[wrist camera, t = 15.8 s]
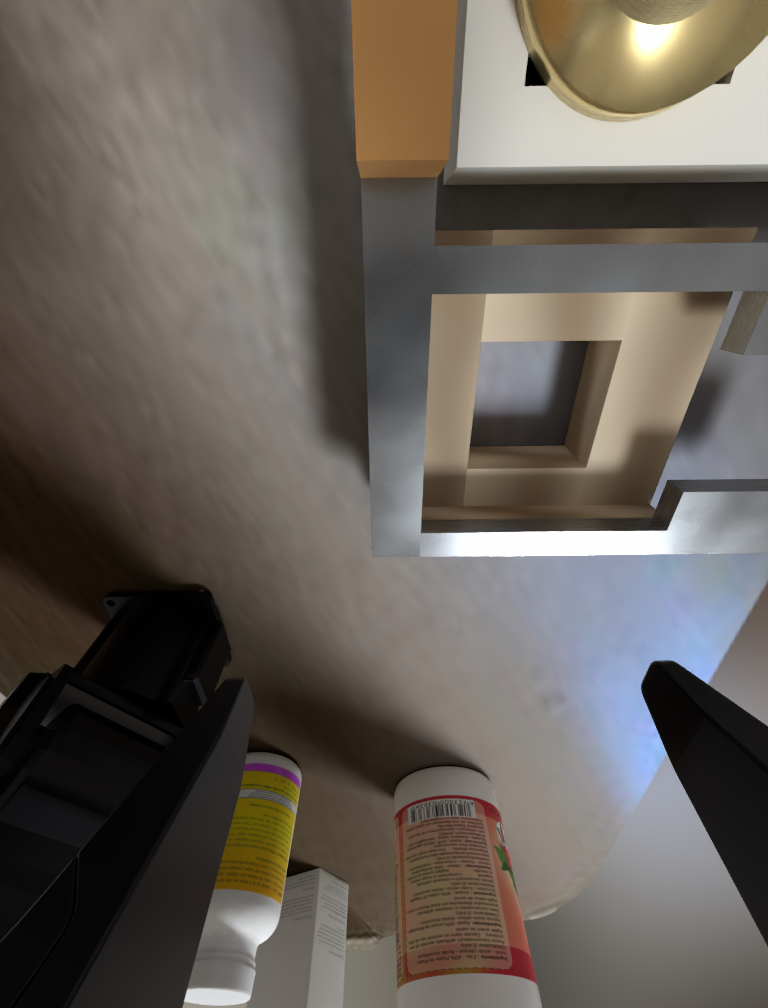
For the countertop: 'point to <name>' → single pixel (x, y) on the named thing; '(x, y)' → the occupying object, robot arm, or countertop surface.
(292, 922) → the skincare box
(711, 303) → the socket block
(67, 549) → the countertop surface
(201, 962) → the supplement bottle
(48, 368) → the countertop surface
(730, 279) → the key plate
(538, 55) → the flanged silver cylinder
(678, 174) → the white hollow block
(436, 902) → the fruit juice
